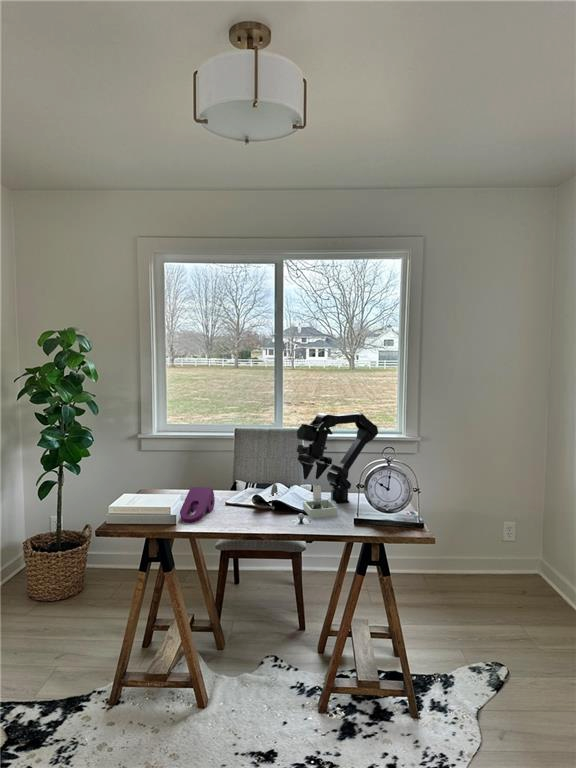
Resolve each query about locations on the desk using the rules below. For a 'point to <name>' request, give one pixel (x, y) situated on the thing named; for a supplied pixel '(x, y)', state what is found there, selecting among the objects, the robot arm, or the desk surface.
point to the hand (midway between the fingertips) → (310, 479)
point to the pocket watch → (274, 488)
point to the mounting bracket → (197, 503)
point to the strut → (316, 497)
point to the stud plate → (301, 520)
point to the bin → (323, 512)
